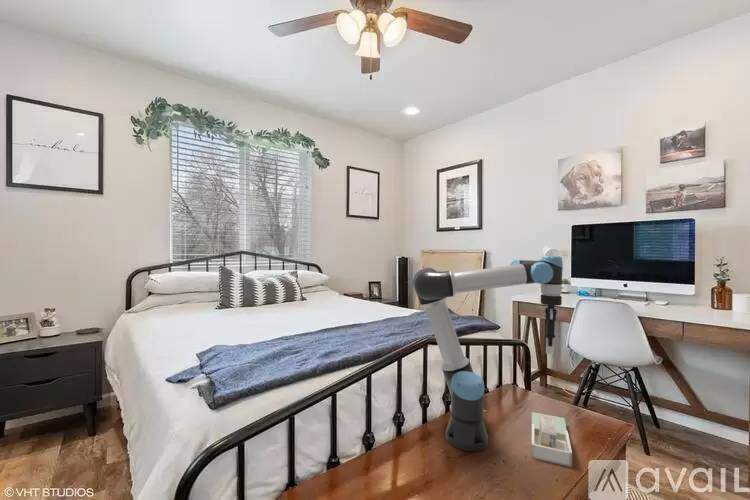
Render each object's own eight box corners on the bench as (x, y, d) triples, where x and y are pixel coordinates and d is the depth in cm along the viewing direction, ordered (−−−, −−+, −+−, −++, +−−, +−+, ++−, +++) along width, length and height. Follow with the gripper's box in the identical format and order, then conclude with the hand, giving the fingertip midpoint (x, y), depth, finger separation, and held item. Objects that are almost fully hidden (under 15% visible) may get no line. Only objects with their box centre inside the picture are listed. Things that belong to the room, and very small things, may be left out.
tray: (531, 457, 119) (531, 444, 119) (531, 435, 133) (531, 423, 133) (571, 467, 114) (572, 453, 114) (567, 443, 128) (567, 431, 128)
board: (531, 435, 133) (531, 427, 133) (531, 419, 146) (531, 411, 146) (567, 443, 128) (567, 435, 128) (564, 425, 141) (564, 418, 141)
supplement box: (552, 439, 130) (556, 459, 118) (538, 435, 132) (540, 455, 120) (554, 417, 130) (557, 435, 118) (539, 414, 132) (541, 431, 119)
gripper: (563, 297, 132) (561, 359, 132) (560, 293, 144) (559, 350, 144) (541, 295, 135) (539, 356, 135) (540, 292, 147) (539, 348, 147)
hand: (549, 353), depth 140 cm, fingers closed
